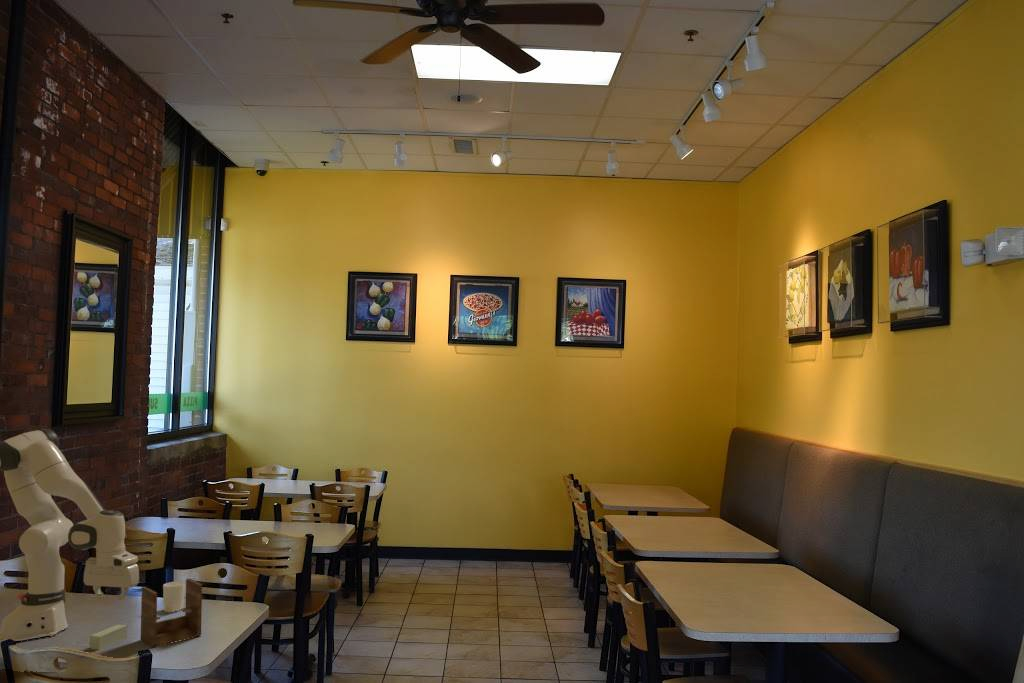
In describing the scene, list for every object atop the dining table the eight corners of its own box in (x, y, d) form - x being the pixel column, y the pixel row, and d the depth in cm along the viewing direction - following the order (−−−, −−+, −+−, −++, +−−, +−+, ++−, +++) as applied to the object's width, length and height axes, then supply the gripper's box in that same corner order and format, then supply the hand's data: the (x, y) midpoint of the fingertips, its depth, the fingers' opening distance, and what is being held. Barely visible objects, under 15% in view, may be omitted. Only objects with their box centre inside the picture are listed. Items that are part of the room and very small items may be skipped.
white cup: (178, 605, 300) (179, 580, 300) (188, 609, 295) (189, 583, 295) (158, 610, 294) (159, 584, 294) (168, 614, 289) (169, 588, 289)
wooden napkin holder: (152, 648, 253) (153, 593, 254) (140, 640, 261) (141, 587, 261) (201, 636, 264) (202, 584, 265) (188, 628, 272) (189, 578, 273)
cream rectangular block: (99, 650, 251) (99, 636, 251) (89, 649, 252) (90, 635, 252) (126, 638, 263) (127, 625, 263) (117, 637, 264) (117, 624, 264)
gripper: (78, 559, 258) (78, 600, 258) (128, 561, 253) (128, 603, 252) (93, 554, 265) (93, 594, 264) (142, 557, 259) (142, 598, 259)
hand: (110, 599), depth 258 cm, fingers open, 8 cm apart
